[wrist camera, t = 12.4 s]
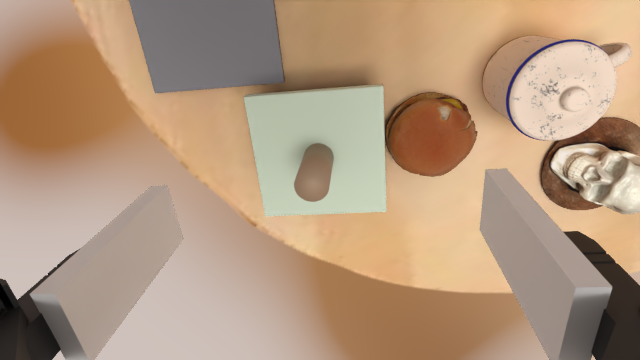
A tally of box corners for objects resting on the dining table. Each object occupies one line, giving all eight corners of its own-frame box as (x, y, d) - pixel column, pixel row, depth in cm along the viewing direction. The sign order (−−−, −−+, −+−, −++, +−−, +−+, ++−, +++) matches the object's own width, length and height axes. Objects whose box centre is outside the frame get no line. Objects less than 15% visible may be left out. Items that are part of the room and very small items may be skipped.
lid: (246, 94, 39) (220, 115, 31) (382, 83, 37) (388, 103, 30) (267, 211, 45) (249, 252, 37) (385, 206, 43) (391, 248, 36)
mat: (115, -61, 39) (111, -62, 39) (263, -81, 37) (261, -82, 37) (157, 92, 46) (155, 93, 45) (284, 81, 44) (283, 82, 43)
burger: (387, 168, 48) (390, 184, 43) (384, 96, 44) (387, 105, 39) (467, 163, 46) (478, 178, 42) (471, 88, 42) (484, 96, 38)
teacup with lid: (494, 129, 44) (537, 169, 34) (467, 59, 41) (505, 78, 31) (604, 80, 41) (690, 107, 30) (583, 0, 38) (670, -2, 27)
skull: (517, 198, 46) (586, 177, 37) (532, 128, 50) (599, 91, 40) (601, 234, 47) (691, 223, 37) (611, 163, 50) (697, 135, 40)
